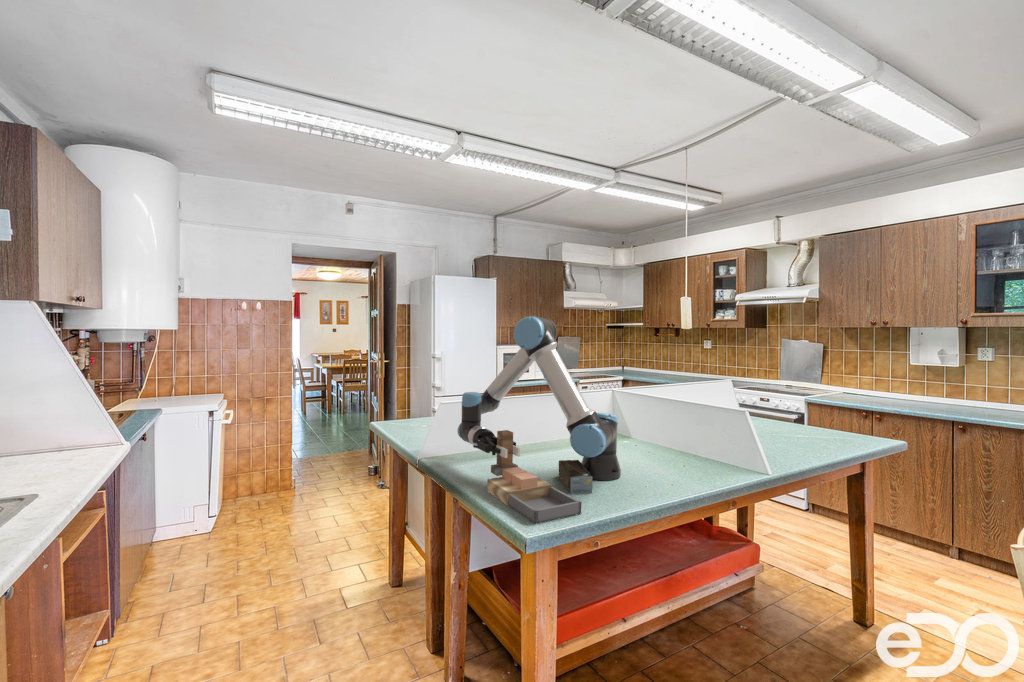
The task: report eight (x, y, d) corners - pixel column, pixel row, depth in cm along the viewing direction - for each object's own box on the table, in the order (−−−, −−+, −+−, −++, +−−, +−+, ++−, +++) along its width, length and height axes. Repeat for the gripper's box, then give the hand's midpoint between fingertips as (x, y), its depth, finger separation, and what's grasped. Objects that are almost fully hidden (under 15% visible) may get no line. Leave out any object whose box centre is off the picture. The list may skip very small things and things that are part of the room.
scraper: (490, 472, 161) (491, 431, 161) (511, 469, 165) (512, 429, 165) (496, 476, 157) (497, 434, 157) (517, 472, 161) (518, 431, 161)
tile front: (511, 483, 152) (511, 474, 152) (527, 480, 155) (527, 471, 155) (521, 489, 147) (521, 479, 147) (537, 486, 150) (537, 477, 150)
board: (487, 491, 156) (487, 479, 156) (528, 484, 164) (528, 472, 164) (507, 505, 144) (508, 492, 144) (551, 497, 152) (551, 484, 152)
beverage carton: (569, 494, 156) (569, 474, 155) (557, 476, 175) (558, 458, 175) (592, 494, 156) (593, 474, 156) (578, 476, 176) (579, 458, 175)
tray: (508, 505, 144) (508, 494, 144) (551, 497, 152) (552, 486, 152) (535, 524, 131) (535, 511, 131) (581, 513, 139) (581, 502, 139)
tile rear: (502, 477, 158) (502, 469, 158) (517, 475, 161) (518, 466, 161) (511, 483, 153) (511, 473, 153) (527, 480, 156) (527, 471, 155)
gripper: (501, 445, 181) (534, 461, 161) (460, 450, 173) (489, 467, 152) (502, 426, 181) (534, 439, 160) (460, 430, 172) (489, 444, 152)
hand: (512, 452), depth 156 cm, fingers closed on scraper, 4 cm apart
